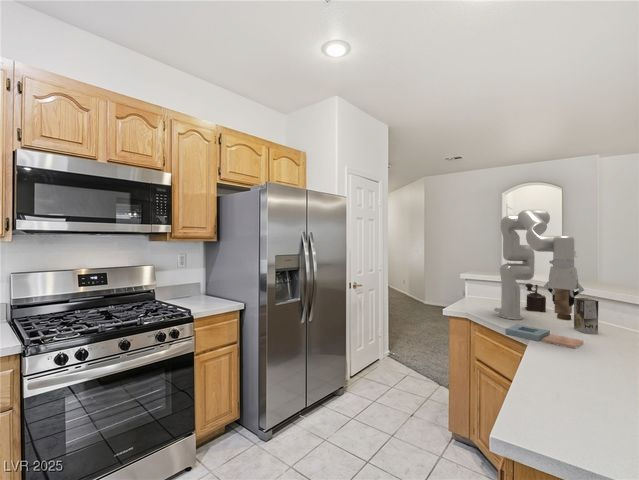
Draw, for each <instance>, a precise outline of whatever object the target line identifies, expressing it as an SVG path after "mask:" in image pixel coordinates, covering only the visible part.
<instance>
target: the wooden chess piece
mask: <svg viewBox="0 0 639 480" xmlns="http://www.w3.org/2000/svg"><path fill="white" fill-rule="evenodd" d="M556 314H557V315H556V318H557V319H558V320H563V321H564V320H565V321H571V320H572V315H571V314H569V315H566V314H559V313H556Z"/></svg>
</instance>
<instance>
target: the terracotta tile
mask: <svg viewBox="0 0 639 480" xmlns="http://www.w3.org/2000/svg"><path fill="white" fill-rule="evenodd" d="M541 341H543V343H547V342H549V343H548V344H551V343H553V344H552V345H556V344H558V345H557V346H560V345H561V347H565V346H566V348H569V347H571V349H574V348H575V349H577V348H579V347H580V346H582V345H583V344H584V340H583V339H578V338H572V337H568V336H562V335H558V334H553V333H550V335H549V336H547V337H545V338H543V339H542V340H541ZM578 346H579V347H578ZM576 347H577V348H576Z"/></svg>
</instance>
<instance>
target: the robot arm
mask: <svg viewBox="0 0 639 480" xmlns="http://www.w3.org/2000/svg"><path fill="white" fill-rule="evenodd" d="M550 220H551V216H550V213H549V212H548V211H547V210H546V209H523V210H522V211H519V212H518V214H511V215H505V216H503V217H502V219H501V222H500V232H501V235H502V256H503V257H502V258H503V259H504V260H505V261H508V262H507V263H503V264H502V265H501V266H500V267H499V275H500V281H501V282H500V283H501V294H500V295H501V302H500V304H501V307H500V308H499V307H494V312H498V317H499V318H502V319H506V320H519V321H520V320H523V319H524V316H523V315H522V314H521V287H520V285H519V283H518V282H517V281H530V280H532V279H533V278H534V276H535V252H539V253H540V252H544V253H550V252H551V253H553V254H552V260H549V264H551V265H552V266H550V268H549V273H548V274H549V275H548V281H547V282H546V283H545V284H544V285H543V287H544V288H545V289H546V290H547V291H548V292H549V293H550V294H551V296H552V298H551V300H552V302H553V305H555V289H564V290H569V293H570V297H569V306H572V307H574V298H576V297H577V295H579V294H580V293H582V292H585V289H584V288H583V286H582V285H581V284H580V283H579V276H578V270H577V267H575V237H574V236H570V235H543V234H544V233H545V232H546V231H547V229H548V224H549V222H550ZM517 231H526V234H525V240H526V243H527V244H520V243H521V238H520V235H519V234H518V233H519V232H517ZM509 262H515V263H509ZM517 262H521V263H517ZM575 290H576V291H575Z"/></svg>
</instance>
